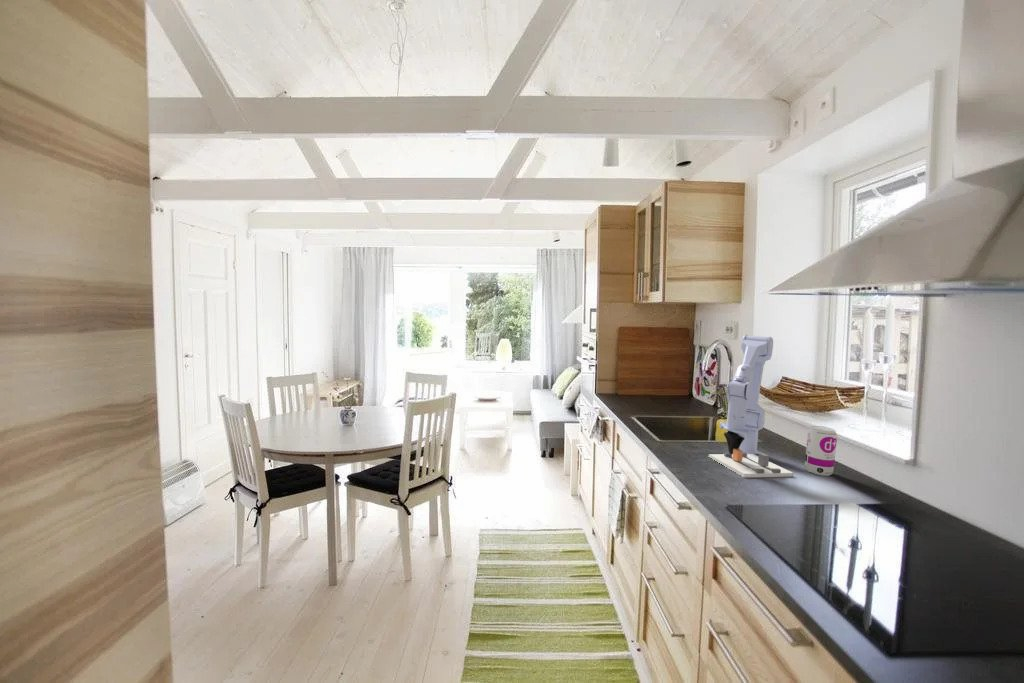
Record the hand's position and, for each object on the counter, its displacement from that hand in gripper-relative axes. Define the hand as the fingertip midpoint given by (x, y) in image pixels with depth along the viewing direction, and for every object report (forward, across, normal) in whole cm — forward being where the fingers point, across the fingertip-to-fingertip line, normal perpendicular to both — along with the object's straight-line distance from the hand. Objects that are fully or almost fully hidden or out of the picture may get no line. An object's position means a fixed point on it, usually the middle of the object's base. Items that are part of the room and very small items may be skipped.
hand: (732, 453), depth 164 cm
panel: (+3, +5, +3) cm, 6 cm away
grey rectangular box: (+1, +8, +6) cm, 10 cm away
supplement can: (+3, +10, +25) cm, 27 cm away
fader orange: (+1, +3, 0) cm, 3 cm away
